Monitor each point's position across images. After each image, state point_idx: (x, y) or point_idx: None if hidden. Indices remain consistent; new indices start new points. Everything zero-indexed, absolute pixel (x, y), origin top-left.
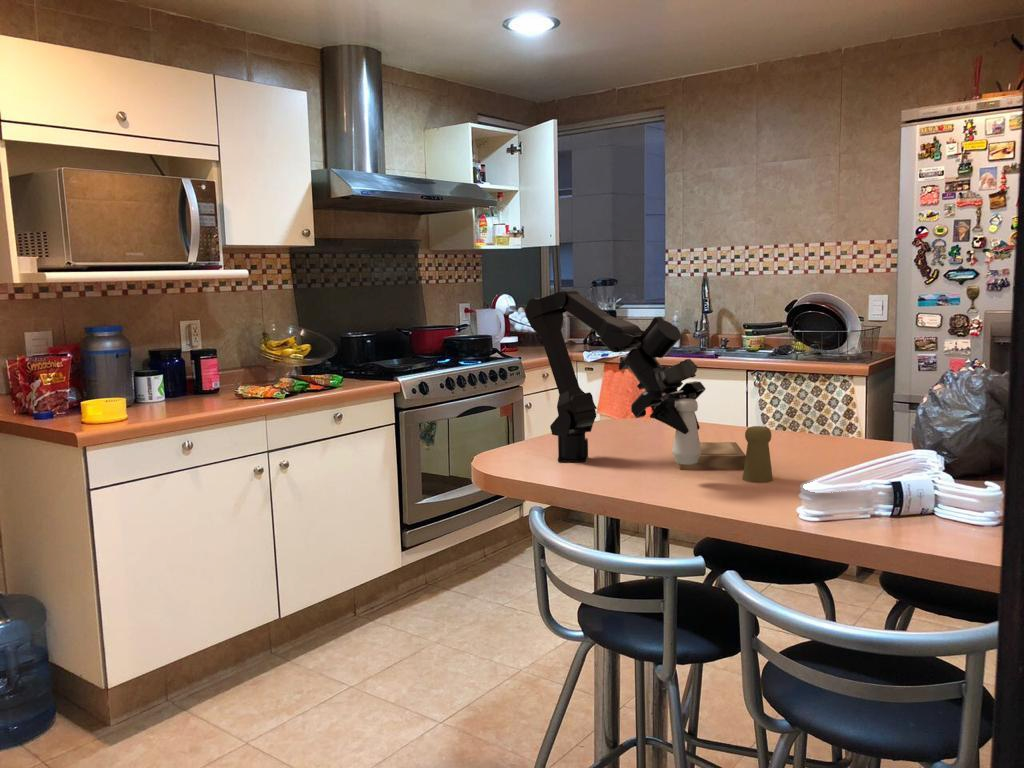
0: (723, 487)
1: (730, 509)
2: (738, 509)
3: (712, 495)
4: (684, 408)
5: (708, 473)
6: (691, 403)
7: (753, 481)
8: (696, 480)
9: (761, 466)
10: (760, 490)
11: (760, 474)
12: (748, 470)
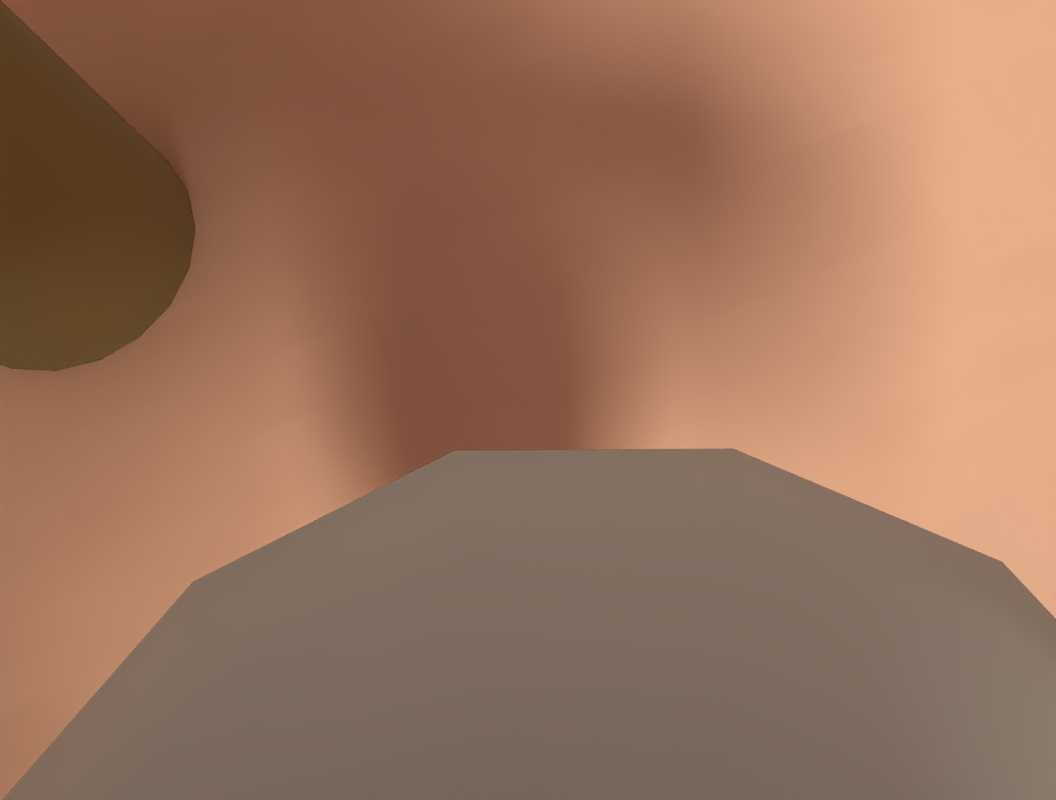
0: (486, 380)
1: (1048, 89)
2: (1008, 46)
3: (784, 353)
4: None
5: (34, 738)
6: (995, 584)
7: (191, 225)
8: None
9: (98, 94)
10: (415, 98)
11: (141, 143)
12: (127, 238)
